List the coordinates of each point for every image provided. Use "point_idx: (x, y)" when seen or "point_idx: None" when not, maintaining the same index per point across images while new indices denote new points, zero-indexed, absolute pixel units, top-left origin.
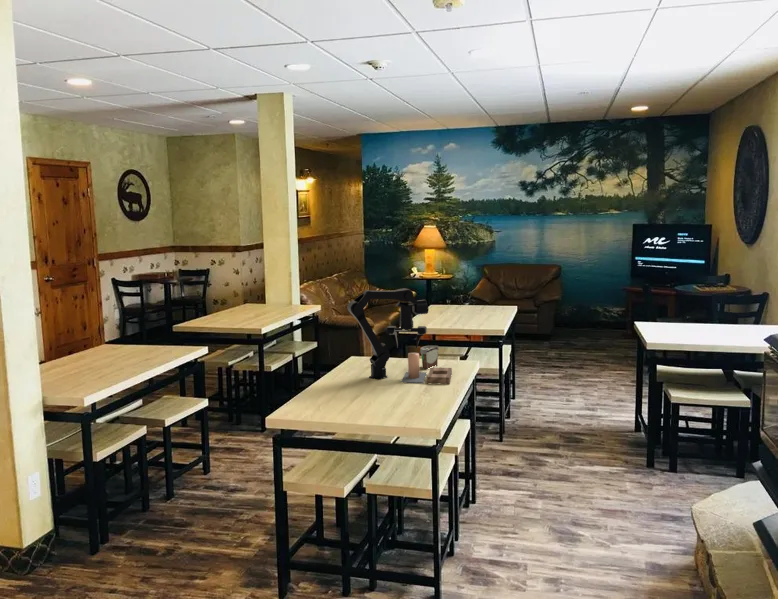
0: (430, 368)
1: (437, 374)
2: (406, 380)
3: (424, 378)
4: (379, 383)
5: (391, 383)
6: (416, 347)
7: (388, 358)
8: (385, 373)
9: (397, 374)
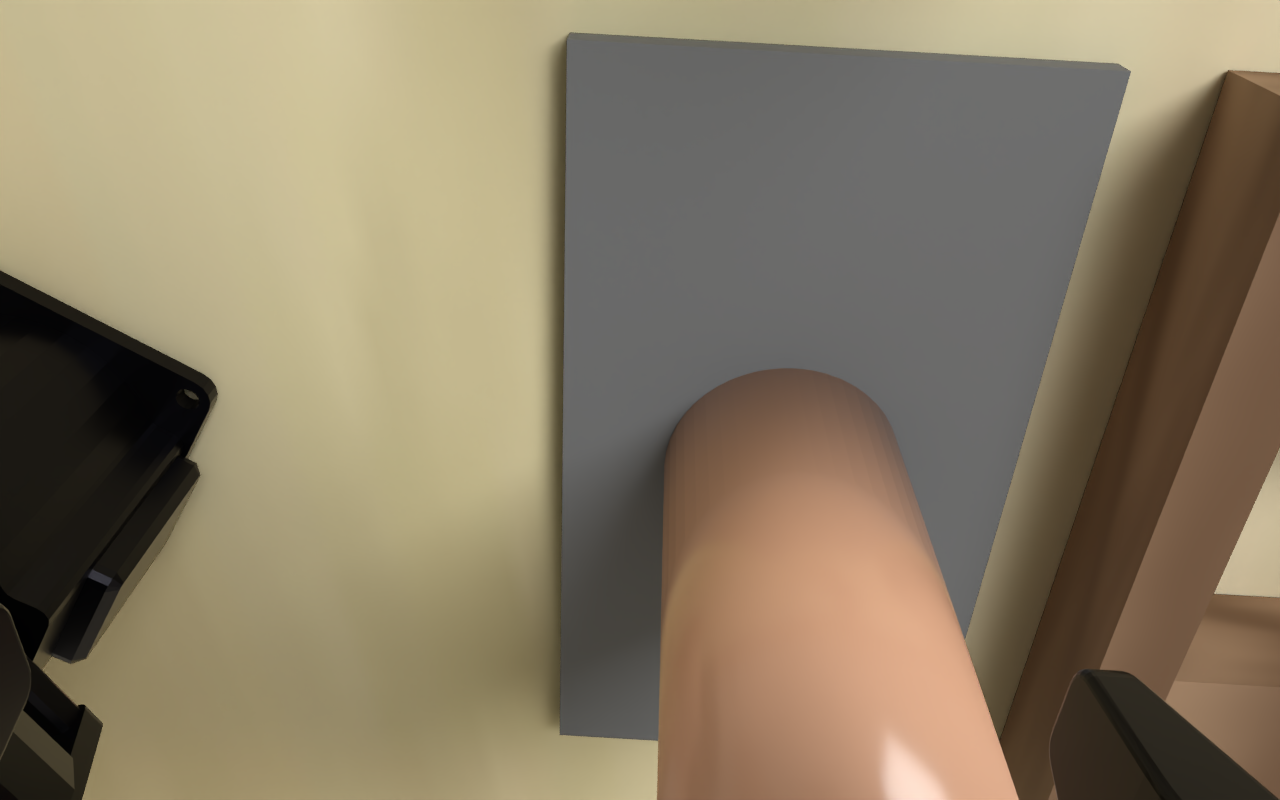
0: (1275, 226)
1: (1274, 709)
2: (644, 675)
3: (987, 554)
4: (217, 730)
5: (408, 731)
6: (1082, 791)
7: (56, 795)
8: (167, 526)
9: (378, 158)
